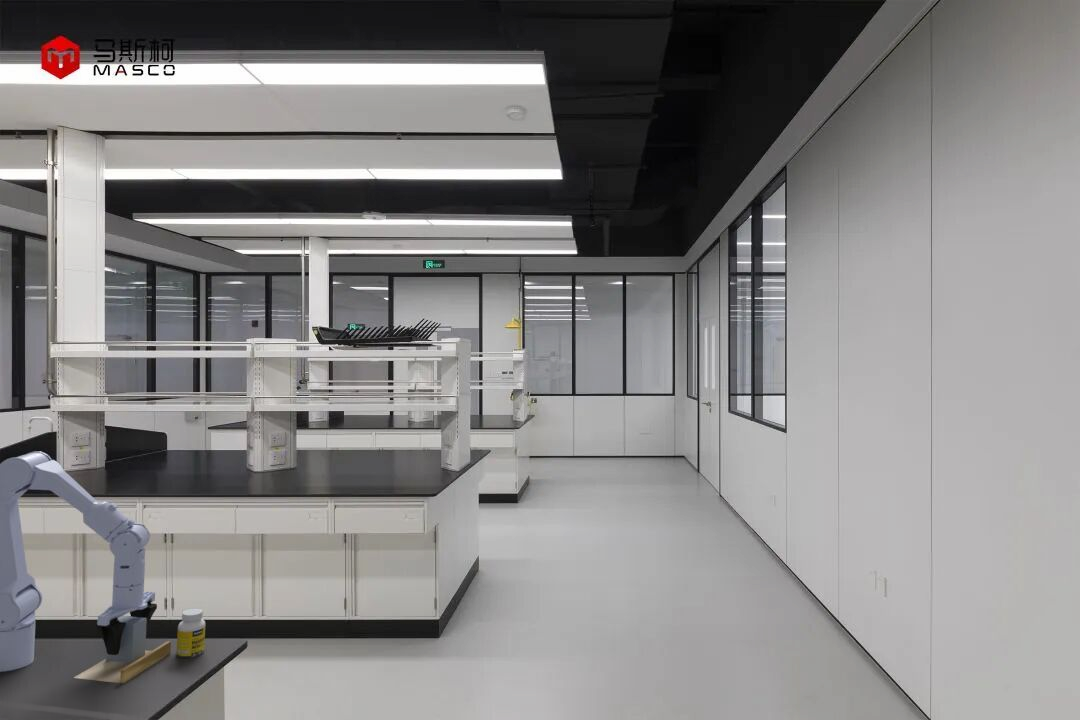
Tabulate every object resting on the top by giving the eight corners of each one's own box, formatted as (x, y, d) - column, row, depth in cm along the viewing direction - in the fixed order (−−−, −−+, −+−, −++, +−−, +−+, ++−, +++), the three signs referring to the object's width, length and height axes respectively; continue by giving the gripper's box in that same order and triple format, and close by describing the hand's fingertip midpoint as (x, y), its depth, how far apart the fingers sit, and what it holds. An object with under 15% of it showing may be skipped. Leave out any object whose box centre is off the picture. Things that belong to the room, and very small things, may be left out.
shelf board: (72, 681, 134) (73, 665, 134) (124, 651, 148) (124, 636, 148) (123, 687, 133) (124, 670, 133) (170, 656, 147) (171, 641, 147)
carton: (131, 663, 142) (133, 625, 142) (105, 660, 142) (107, 622, 142) (145, 654, 146) (147, 617, 146) (120, 651, 147) (121, 615, 146)
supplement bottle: (192, 663, 144) (194, 617, 144) (170, 659, 146) (172, 614, 146) (209, 652, 150) (211, 608, 150) (188, 649, 151) (190, 605, 151)
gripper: (121, 596, 136) (118, 663, 136) (168, 573, 151) (166, 634, 151) (89, 593, 137) (86, 659, 137) (139, 571, 151) (136, 631, 152)
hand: (126, 646), depth 144 cm, fingers open, 7 cm apart
